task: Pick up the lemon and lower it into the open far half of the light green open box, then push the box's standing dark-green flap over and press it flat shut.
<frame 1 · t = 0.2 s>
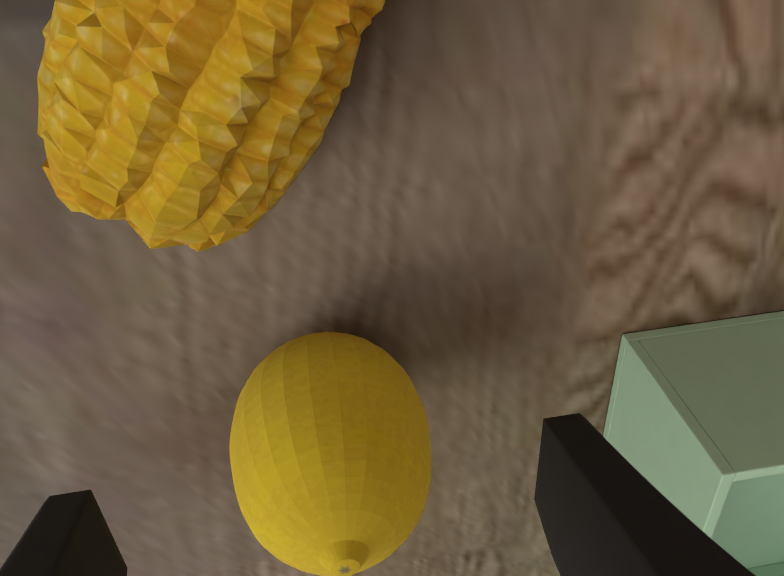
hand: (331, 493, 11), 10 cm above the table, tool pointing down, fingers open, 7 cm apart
lemon: (319, 348, 22), on the table
light green open box: (732, 463, 29), on the table
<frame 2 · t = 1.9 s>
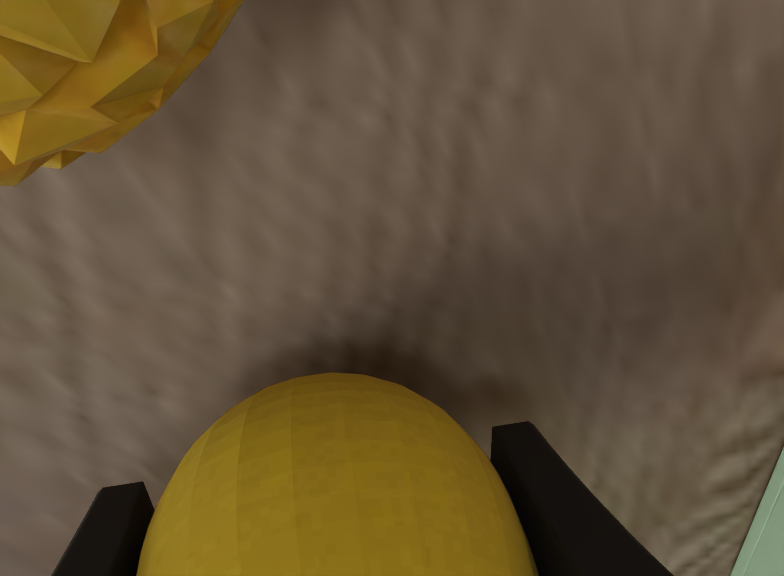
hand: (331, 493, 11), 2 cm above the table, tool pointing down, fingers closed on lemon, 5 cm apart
lemon: (318, 393, 13), on the table, touching gripper
when the fingers open (3 cm above the table, at t = 7.5 s): lemon stays where it is, resting on light green open box.
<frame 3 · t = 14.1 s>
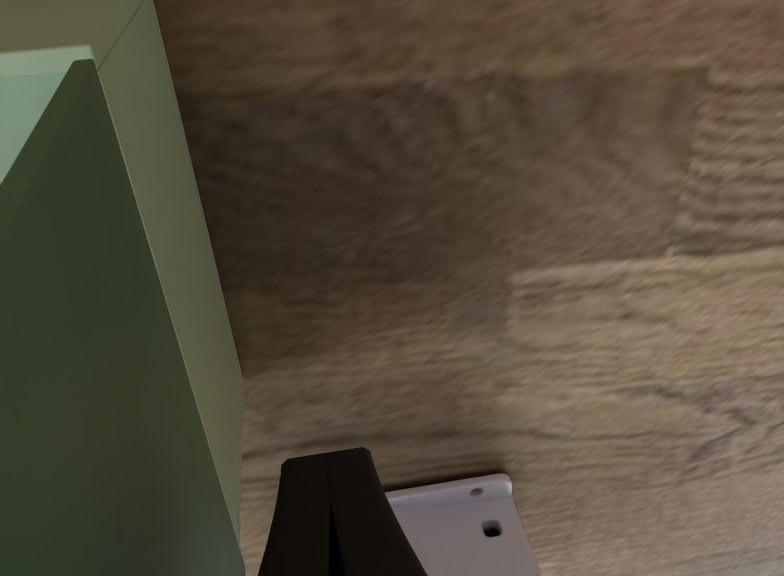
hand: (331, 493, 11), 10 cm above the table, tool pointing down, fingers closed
flap: (172, 561, 10), point 11 cm above the table, hinge at 93.2°, touching gripper
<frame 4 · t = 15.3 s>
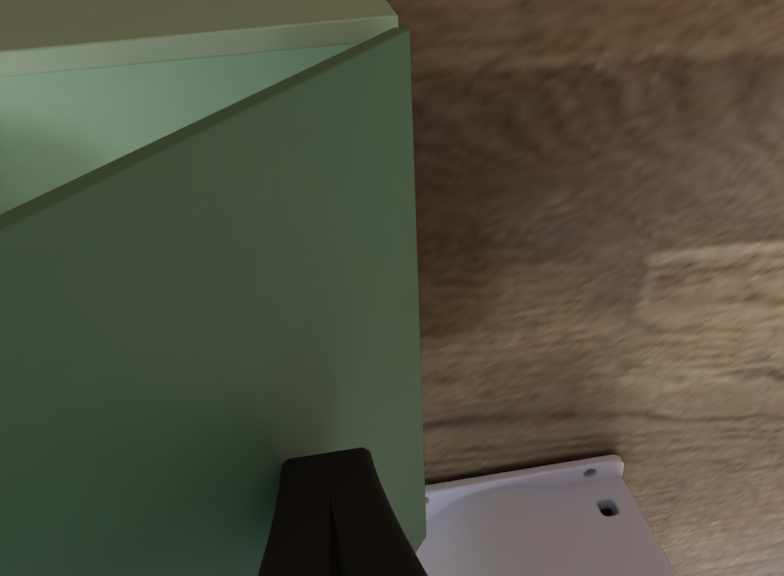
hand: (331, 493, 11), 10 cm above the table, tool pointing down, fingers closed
flap: (291, 488, 11), point 10 cm above the table, hinge at 49.5°, touching gripper
light green open box: (73, 230, 19), on the table
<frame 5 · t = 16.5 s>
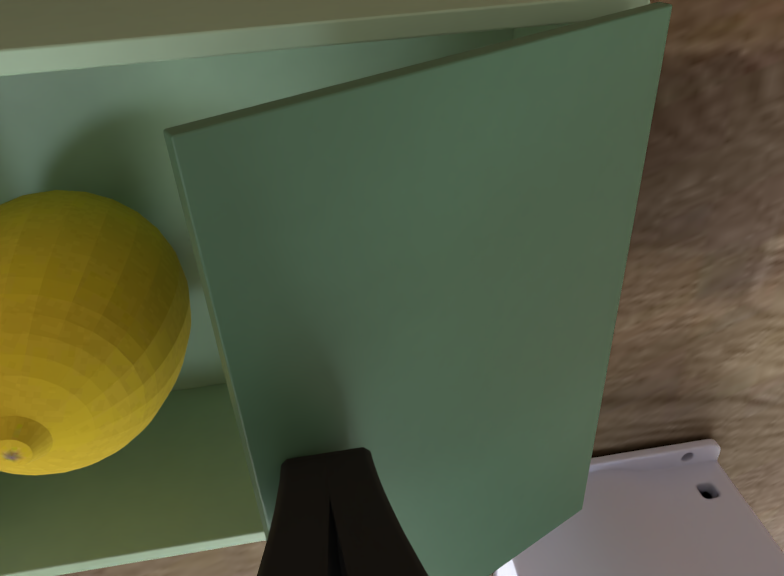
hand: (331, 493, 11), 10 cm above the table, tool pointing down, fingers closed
lemon: (99, 231, 19), resting on light green open box
flap: (460, 399, 13), point 9 cm above the table, hinge at 25.1°, touching gripper
light green open box: (229, 211, 19), on the table
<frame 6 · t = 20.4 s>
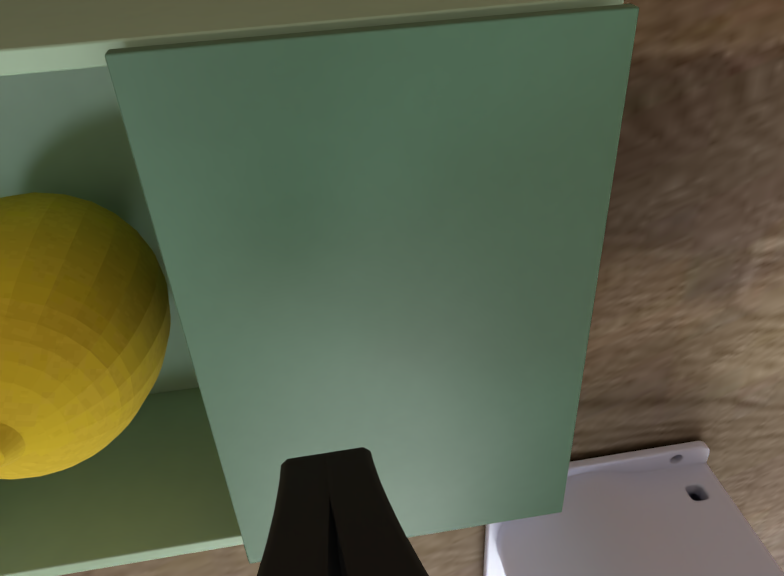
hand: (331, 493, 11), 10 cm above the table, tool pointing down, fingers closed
lemon: (81, 233, 19), resting on light green open box
flap: (398, 345, 14), point 7 cm above the table, hinge at -0.5°
light green open box: (211, 213, 19), on the table
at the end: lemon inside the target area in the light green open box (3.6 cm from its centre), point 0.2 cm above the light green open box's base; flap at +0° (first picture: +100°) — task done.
